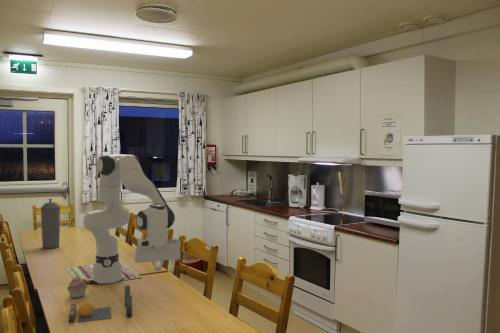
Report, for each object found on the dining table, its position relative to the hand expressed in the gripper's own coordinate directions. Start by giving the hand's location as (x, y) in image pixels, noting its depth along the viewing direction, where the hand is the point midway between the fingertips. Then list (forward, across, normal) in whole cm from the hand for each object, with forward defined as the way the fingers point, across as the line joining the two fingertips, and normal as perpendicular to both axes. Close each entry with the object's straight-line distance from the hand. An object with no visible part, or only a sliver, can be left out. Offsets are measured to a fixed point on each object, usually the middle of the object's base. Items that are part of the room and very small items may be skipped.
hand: (157, 270), depth 191 cm
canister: (+17, +60, -138) cm, 151 cm away
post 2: (+17, +13, +6) cm, 22 cm away
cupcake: (+17, +36, -26) cm, 47 cm away
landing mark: (+17, +27, 0) cm, 32 cm away
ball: (+14, +31, +1) cm, 34 cm away
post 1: (+17, +13, -6) cm, 22 cm away
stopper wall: (+17, +36, -1) cm, 40 cm away
